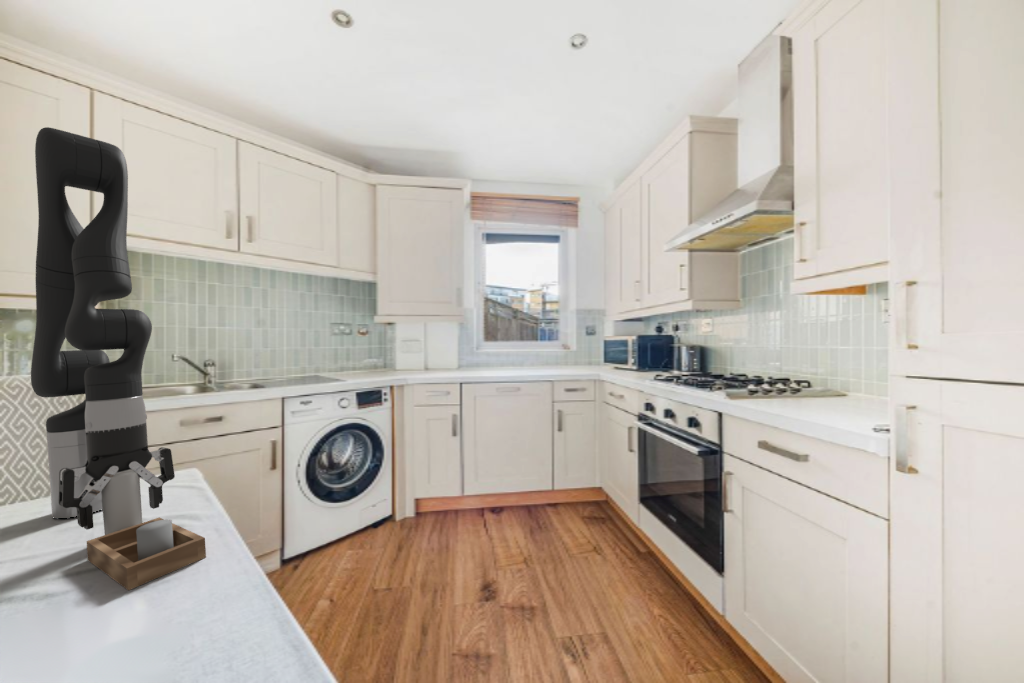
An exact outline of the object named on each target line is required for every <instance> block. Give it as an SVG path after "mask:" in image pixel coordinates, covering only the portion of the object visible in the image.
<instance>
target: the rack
mask: <svg viewBox="0 0 1024 683" xmlns="http://www.w3.org/2000/svg"><path fill="white" fill-rule="evenodd" d="M159 520H165V519H164V518H162V517H156V518H154V519H153V518H152V519H150V520H147V521H144V522H142V523H141V524H138V525H135V526H131V527H128V528H125V529H122V530H119V531H116V532H113V533H110V534H107V535H105V534H104V535H101V536H98V537H96V538H91V539H89V540H87V541H86V554H87V555H86V556H87V561H88V562H90V563H91V564H92V565H93V566H95V567H96V568H98V569H99V570H100V571H101V572H102V573H104V574H106V575H107V576H109V577H110V578H111V579H113V580H114V581H115V582H116V583H118V584H119V585H120V586H122V587H123V588H124V589H126V590H127V591H130V590H133V589H135V588H138V587H140V586H142V585H145V584H147V583H149V582H151V581H153V580H156V579H158V578H160V577H164V576H166V575H167V574H170V573H172V572H175V571H177V570H179V569H182V568H184V567H187V566H188V565H190V564H193V563H196V562H199V561H200V560H203V559H205V558H207V552H206V550H207V548H206V538H205V537H204V536H201V535H199V534H198V533H195V532H193V531H190V530H188V529H186V528H184V527H181V526H180V525H177V524H175V523H173V522H172V530H173V545H174V547H173V548H171V549H168V550H166V551H163V552H160V553H158V554H155V555H153V556H150V557H147V558H145V559H142V560H140V561H138V550H137V534H136V530H137V529H138V528H139V527H141V526H143V525H145V524H148V523H151V522H154V521H159Z"/></svg>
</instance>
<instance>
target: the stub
mask: <svg viewBox="0 0 1024 683" xmlns="http://www.w3.org/2000/svg"><path fill="white" fill-rule="evenodd" d="M172 523H173V521H172V519H169V518H168V519H164V520H159V521H154V522H151V523H148V524H145V525H143V526H141V527H139V528H138V529H137V530H136V534H137V550H138V561H140V560H142V559H145V558H147V557H150V556H153V555H155V554H158V553H160V552H163V551H166V550H168V549H171V548H173V547H174V545H173V530H172Z"/></svg>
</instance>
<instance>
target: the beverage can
mask: <svg viewBox="0 0 1024 683" xmlns="http://www.w3.org/2000/svg"><path fill="white" fill-rule="evenodd" d="M140 479H141V478H140V477H139V474H138V473H136V472H135V471H134V470H133V469H129V470H125V471H121V472H116V473H115V475H114V476H113V477H111V479H110V480H109V482H108V483H107V484H106V485H105V487H104V488H103V489H102V491H101V496H102V510H101V511H102V520H103V530H104V535H107V534H110V533H113V532H116V531H119V530H122V529H125V528H128V527H131V526H135V525H138V524H141V523H143V512H142V510H143V509H142V496H141V482H140V481H141V480H140Z"/></svg>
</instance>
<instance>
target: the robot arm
mask: <svg viewBox="0 0 1024 683" xmlns="http://www.w3.org/2000/svg"><path fill="white" fill-rule="evenodd" d="M34 147H35V148H34V152H35V153H34V155H35V161H34V162H35V174H36V175H35V178H36V189H37V191H36V192H37V207H38V229H37V243H36V253H35V254H36V256H35V302H36V303H35V306H36V308H35V309H36V311H35V313H36V316H35V317H36V319H35V320H36V321H35V332H34V339H33V340H34V341H33V349H32V358H31V366H30V381H31V382H30V384H31V388H32V391H33V393H35V394H36V395H37V396H38V397H40V398H57V397H58V398H59V397H69V396H78V395H85V399H84V400H83V401H82V402H81V403H79V404H77V405H75V406H74V407H72V408H70V409H67V410H65V411H61V412H59V413H57V414H53V415H51V416H50V417H48V418H47V419H46V422H45V430H46V444H47V456H48V471H49V472H48V473H49V486H50V504H51V515H52V516H51V518H52V517H54V518H67V519H71V518H70V517H74V518H76V519H77V524H78V526H80V527H81V528H83V529H85V530H90V529H93V528H94V513H93V512H95V513H97V512H96V511H98V512H100V511H99V510H101V509H102V496H101V491H102V489H103V488H104V487H105V485H106V484H107V483H108V482H109V480H110V479H111V477H113V476H114V475H115V473H116V472H121V471H125V470H129V469H133V470H134V471H135V472H136V473H138V474H139V477H140V479H141V480H143V481H144V482H146V483H147V484H149V485H150V486H148V497H149V498H148V499H149V500H148V502H149V507H150V509H153V510H154V509H158V508H159V507H160V504H162V503H163V501H164V497H163V496H164V495H163V485H164V484H165V483H167V482H169V481H172V480H174V479H175V468H174V462H173V454H172V449H171V448H167V447H163V446H161V447H159V448H158V449H157V450H152V451H150V450H149V447H148V446H149V442H148V430H147V428H148V427H147V425H148V424H147V419H148V414H147V411H146V405H145V400H144V396H143V394H144V392H143V381H142V380H143V379H142V378H143V377H142V371H143V364H144V359H145V356H146V351H147V348H148V345H149V342H150V340H151V336H152V330H153V324H152V321H151V319H150V317H149V316H148V315H147V314H146V313H145V312H143V311H142V310H139V309H133V308H132V309H131V308H130V309H127V308H124V309H123V308H120V309H119V308H96V306H98V304H99V303H100V302H106V301H112V300H114V301H115V300H119V299H123V298H126V297H128V296H129V295H130V294H131V293H132V291H133V284H132V276H131V271H130V265H129V264H130V263H129V256H128V248H127V247H128V246H127V234H128V233H127V231H128V229H127V228H128V207H129V204H128V201H129V199H128V198H129V197H128V196H129V195H128V194H129V193H128V192H129V189H128V188H129V174H128V173H129V171H128V165H127V160H126V157H125V154H124V152H123V151H122V149H120V148H119V147H118V146H117V145H114V144H112V143H109V142H106V141H102V140H99V139H95V138H92V137H88V136H84V135H80V134H77V133H72V132H71V131H70V132H68V131H65V130H62V129H57V128H54V127H49V126H47V127H42V128H41V129H40V130H39V131H38V132H37V136H36V138H35V145H34ZM66 187H71V188H74V189H80V190H86V191H92V192H95V193H99V194H100V193H101V194H103V202H102V206H101V208H100V210H99V212H98V213H97V214H96V215H95V216H94V218H93V219H92V220H91V221H90V222H89V223H88V224H87V225H86V226H85V227H83V226H82V225H81V223H80V222H79V220H78V218H77V217H76V216H75V214H74V212H73V211H72V209H71V207H70V205H69V202H68V199H67V195H66ZM65 340H66V341H67V342H68V343H69V344H70V346H72V347H73V348H75V350H62V347H63V344H64V341H65ZM109 350H123V353H122V355H120V357H119V358H118V359H116V360H114V361H110V358H109V355H108V354H107V352H105V351H109ZM152 458H154V460H155V461H156V462H158V463H159V464H158V465H159V470H160V475H158V476H156V475H155V474H154V473H153V472H151V471H149V470H148V469H147V468H146V467H147V466H148V464H149V463H150V462H151V461H152ZM101 511H102V510H101ZM76 516H77V517H76Z"/></svg>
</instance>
